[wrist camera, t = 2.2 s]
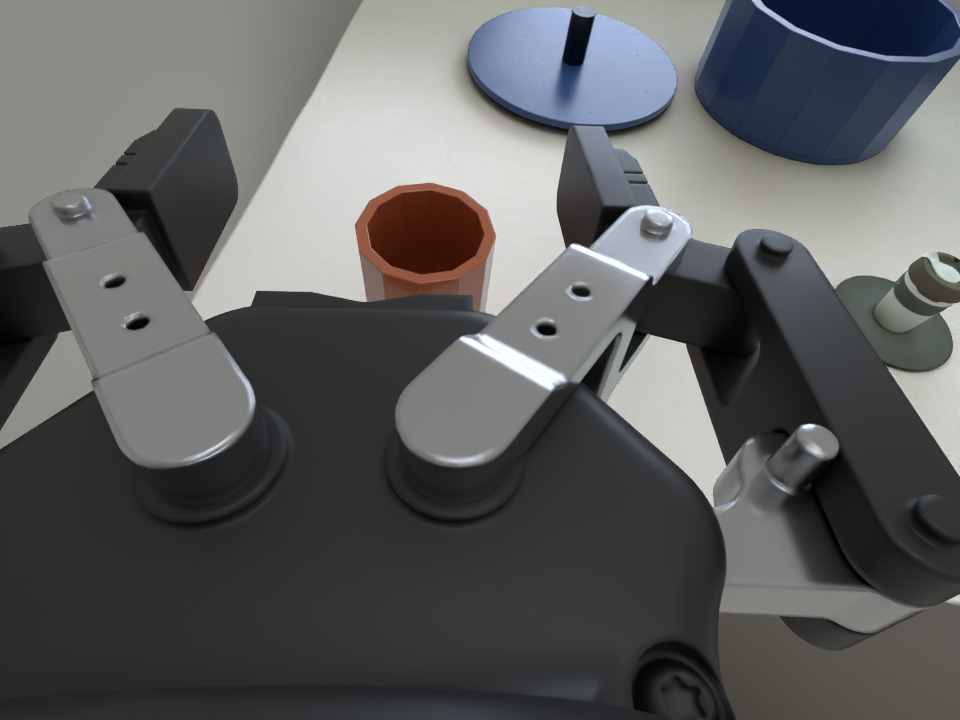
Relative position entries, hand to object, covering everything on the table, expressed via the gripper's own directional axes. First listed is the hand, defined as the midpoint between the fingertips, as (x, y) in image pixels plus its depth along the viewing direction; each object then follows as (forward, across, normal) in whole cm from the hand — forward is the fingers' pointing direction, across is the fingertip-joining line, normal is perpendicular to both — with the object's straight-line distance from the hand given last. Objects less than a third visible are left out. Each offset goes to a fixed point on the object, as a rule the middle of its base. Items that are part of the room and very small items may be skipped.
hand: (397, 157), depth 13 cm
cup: (+9, 0, +17) cm, 19 cm away
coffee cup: (+13, -31, +17) cm, 37 cm away
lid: (+39, -12, +11) cm, 42 cm away
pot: (+37, -33, +12) cm, 51 cm away
